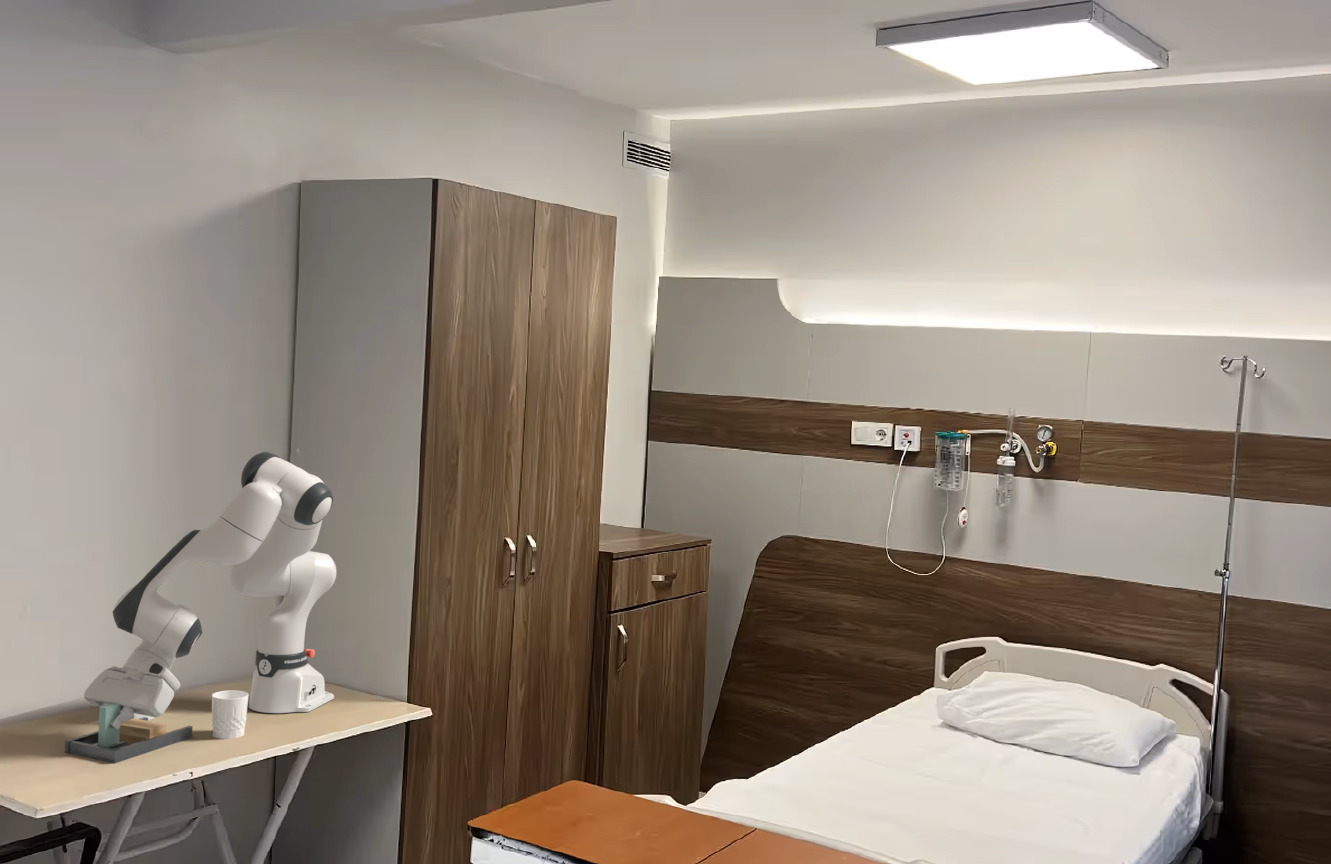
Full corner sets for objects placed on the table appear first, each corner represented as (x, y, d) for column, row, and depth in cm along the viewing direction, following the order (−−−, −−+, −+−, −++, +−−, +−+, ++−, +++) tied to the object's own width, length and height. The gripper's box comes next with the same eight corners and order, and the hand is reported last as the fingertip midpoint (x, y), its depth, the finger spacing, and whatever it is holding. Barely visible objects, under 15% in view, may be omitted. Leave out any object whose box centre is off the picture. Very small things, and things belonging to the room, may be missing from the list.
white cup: (209, 734, 280) (211, 690, 280) (245, 732, 283) (247, 689, 283) (210, 744, 273) (212, 699, 273) (247, 741, 276) (249, 698, 276)
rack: (144, 731, 280) (144, 717, 279) (191, 740, 274) (192, 726, 274) (64, 756, 259) (65, 740, 259) (114, 767, 254) (115, 751, 254)
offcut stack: (133, 734, 274) (134, 716, 274) (168, 741, 270) (169, 723, 270) (111, 741, 268) (112, 723, 268) (146, 748, 265) (147, 730, 264)
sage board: (112, 748, 263) (114, 702, 263) (119, 750, 263) (120, 704, 262) (97, 753, 260) (99, 706, 259) (104, 754, 259) (105, 708, 259)
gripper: (100, 657, 271) (62, 710, 262) (172, 670, 263) (135, 725, 255) (115, 673, 275) (78, 726, 266) (186, 686, 268) (151, 741, 259)
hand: (107, 726), depth 260 cm, fingers closed on sage board, 2 cm apart
